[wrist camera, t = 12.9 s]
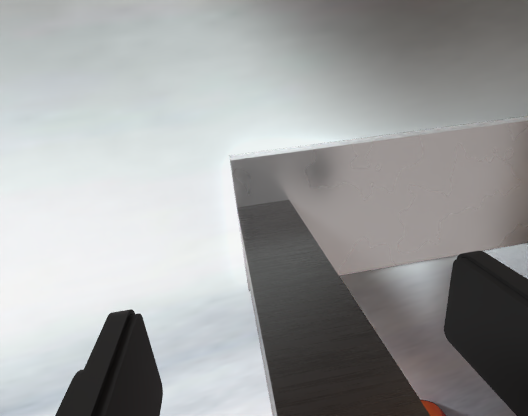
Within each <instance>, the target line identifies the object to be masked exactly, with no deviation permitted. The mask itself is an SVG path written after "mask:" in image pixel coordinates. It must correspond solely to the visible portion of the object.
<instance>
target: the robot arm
mask: <svg viewBox="0 0 528 416" xmlns="http://www.w3.org/2000/svg"><path fill="white" fill-rule="evenodd" d="M444 332H445V335H446V338H447V339H448V341H449V342H450V343H451V344H452V345H453V346H454V347H455V349H456V350H457V351H458V352H459V353H460V354H461V355H462V356H463V357H464V358H465V359H466V361H467V362H468V363H469V364H470V365H471V366H472V367H473V368H474V369H475V370H476V371H477V373H478V374H479V375H480V376H481V377H482V378H483V379H484V380H485V381H486V382H487V384H488V385H489V386H490V387H491V388H492V389H493V390H494V391H495V392H496V393H497V394H498V396H499V397H500V398H501V399H502V400H503V401H504V402H505V403H506V404H507V405H508V406H509V408H510V409H511V410H512V411H513V412H514V413H515V414H516V415H517V416H528V279H526V278H525V277H523V276H522V275H520V274H518V273H517V272H515V271H514V270H512V269H510V268H509V267H507V266H506V265H504V264H502V263H501V262H499V261H498V260H496V259H494V258H493V257H491V256H490V255H488V254H486V253H485V252H482V251H473V252H467V253H462V254H460V255H459V256H458V257H457V259H456V260H455V261H454V262H453V268H452V275H451V282H450V289H449V296H448V304H447V311H446V318H445V325H444ZM162 396H163V390H162V383H161V379H160V376H159V372H158V369H157V365H156V362H155V359H154V355H153V352H152V348H151V345H150V342H149V338H148V335H147V331H146V328H145V325H144V321H143V318H142V315H141V314H135V313H134V311H133V310H126V311H120V312H114V313H110V314H109V315H108V317H107V319H106V322H105V324H104V326H103V328H102V330H101V333H100V335H99V337H98V339H97V342H96V344H95V346H94V348H93V350H92V353H91V355H90V357H89V359H88V362H87V364H86V366H85V368H84V370H80V371H78V372H77V373H76V374H75V376H74V378H73V379H72V381H71V384H70V386H69V388H68V390H67V392H66V394H65V396H64V398H63V400H62V403H61V405H60V407H59V409H58V411H57V413H56V415H55V416H159V415H160V409H161V403H162Z"/></svg>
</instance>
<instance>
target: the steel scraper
mask: <svg viewBox="0 0 528 416" xmlns="http://www.w3.org/2000/svg"><path fill="white" fill-rule="evenodd" d="M229 158H230V165H231V172H232V179H233V186H234V193H235V200H236V207H237V214H238V221H239V228H240V235H241V242H242V248H243V255H244V262H245V269H246V276H247V283H248V288H249V291H250V292H251V298H252V303H253V309H254V314H255V320H256V325H257V331H258V336H259V342H260V348H261V353H262V359H263V364H264V370H265V375H266V381H267V386H268V392H269V398H270V403H271V409H272V414H273V416H430V414H429V413H428V411H427V410H426V408H425V407H424V405H423V404H422V402H421V400H420V399H419V397H418V396H417V394H416V393H415V391H414V390H413V388H412V387H411V385H410V384H409V382H408V381H407V379H406V378H405V376H404V375H403V373H402V371H401V370H400V368H399V367H398V365H397V364H396V362H395V361H394V359H393V358H392V356H391V355H390V353H389V352H388V350H387V349H386V347H385V345H384V344H383V342H382V341H381V339H380V338H379V336H378V335H377V333H376V332H375V330H374V329H373V327H372V326H371V324H370V323H369V321H368V320H367V318H366V316H365V315H364V313H363V312H362V310H361V309H360V307H359V306H358V304H357V303H356V301H355V300H354V298H353V297H352V295H351V294H350V292H349V290H348V289H347V287H346V286H345V284H344V283H343V281H342V280H341V278H340V277H339V276H340V275H346V274H351V273H357V272H363V271H368V270H374V269H380V268H386V267H391V266H397V265H403V264H408V263H414V262H420V261H426V260H431V259H437V258H443V257H449V256H454V255H460V254H462V253H467V252H473V251H483V250H489V249H494V248H500V247H506V246H511V245H517V244H523V243H528V116H523V117H516V118H508V119H501V120H493V121H486V122H478V123H471V124H463V125H456V126H448V127H441V128H433V129H426V130H418V131H411V132H403V133H395V134H388V135H380V136H373V137H365V138H358V139H350V140H343V141H335V142H328V143H320V144H313V145H305V146H298V147H290V148H283V149H275V150H268V151H260V152H252V153H245V154H237V155H230V156H229Z"/></svg>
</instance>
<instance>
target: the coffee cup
mask: <svg viewBox="0 0 528 416" xmlns="http://www.w3.org/2000/svg"><path fill="white" fill-rule="evenodd" d="M421 402H422V404H423V405H424V407H425V408H426V410H427V411H428V413H429V414H430V416H446V415H445V414H444V412H443V411H442V410H441V409H440V408H439V407H438V406H437V405H436V404H434V403H432V402H429V401H424V400H421Z"/></svg>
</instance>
